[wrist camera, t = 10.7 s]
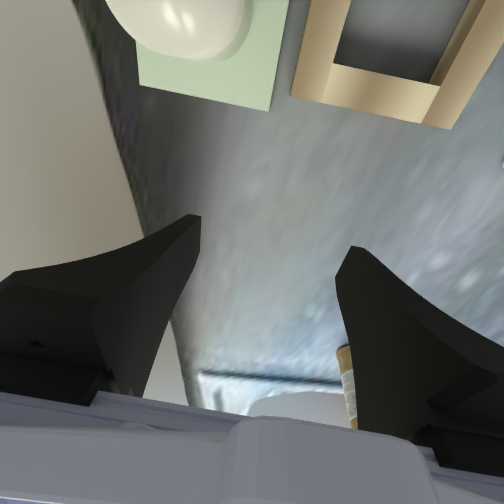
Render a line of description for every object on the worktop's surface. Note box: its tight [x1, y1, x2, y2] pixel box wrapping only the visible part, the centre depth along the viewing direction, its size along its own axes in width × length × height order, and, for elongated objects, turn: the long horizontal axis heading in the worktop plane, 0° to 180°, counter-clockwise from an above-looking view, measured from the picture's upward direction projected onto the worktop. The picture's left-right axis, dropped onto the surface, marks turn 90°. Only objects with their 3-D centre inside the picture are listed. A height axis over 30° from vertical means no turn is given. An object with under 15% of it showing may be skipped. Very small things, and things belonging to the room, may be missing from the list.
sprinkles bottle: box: [336, 345, 358, 430], centre depth 28 cm, size 5×5×14 cm
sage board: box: [136, 0, 289, 112], centre depth 14 cm, size 9×9×1 cm
